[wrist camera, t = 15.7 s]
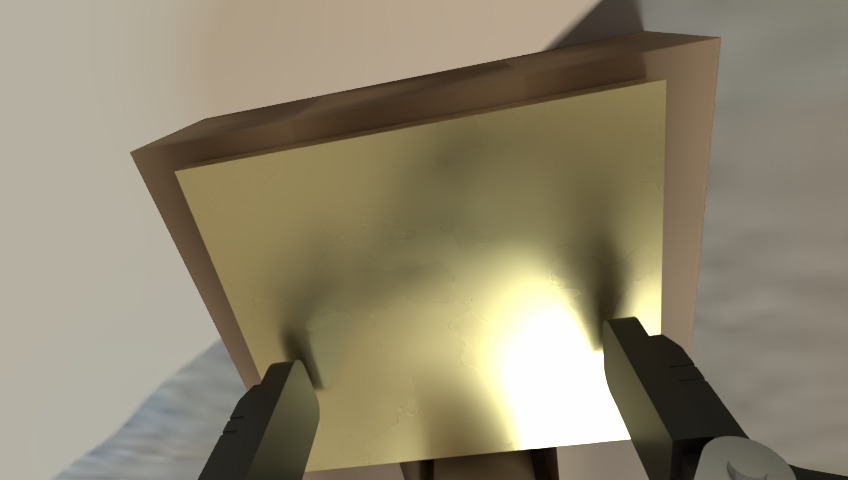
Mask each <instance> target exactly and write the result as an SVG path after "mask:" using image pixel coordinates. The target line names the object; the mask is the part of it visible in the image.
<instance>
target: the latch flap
mask: <svg viewBox="0 0 848 480" xmlns="http://www.w3.org/2000/svg"><path fill="white" fill-rule="evenodd" d="M665 116H666V79H660V78H654V77H647V78H641V79H636V80H631V81H625V82H620V83H615V84H609V85H604V86H599V87H594V88H588V89H583V90H578V91H572V92H567V93H562V94H556V95H551V96H546V97H540V98H535V99H530V100H524V101H519V102H514V103H509V104H503V105H498V106H493V107H487V108H482V109H477V110H471V111H466V112H461V113H455V114H450V115H445V116H439V117H434V118H429V119H424V120H418V121H413V122H408V123H402V124H397V125H392V126H386V127H381V128H376V129H370V130H365V131H360V132H354V133H349V134H344V135H339V136H333V137H328V138H323V139H317V140H312V141H307V142H301V143H296V144H291V145H285V146H280V147H275V148H269V149H264V150H259V151H254V152H248V153H243V154H238V155H232V156H227V157H222V158H216V159H211V160H206V161H200V162H195V163H191V164H189V165H187V166H185V167H183V168H181V169H179V170H176V171H174V172H175V174H176V176H177V179H178V181H179V184H180V186H181V188H182V191H183V193H184V196H185V198H186V200H187V203H188V205H189V208H190V210H191V212H192V215H193V217H194V219H195V222H196V224H197V227H198V229H199V231H200V234H201V236H202V239H203V241H204V243H205V246H206V248H207V251H208V253H209V255H210V258H211V260H212V262H213V265H214V267H215V270H216V272H217V274H218V277H219V279H220V282H221V284H222V286H223V289H224V291H225V294H226V296H227V298H228V301H229V303H230V305H231V308H232V310H233V313H234V315H235V317H236V320H237V322H238V325H239V327H240V329H241V332H242V334H243V337H244V339H245V341H246V344H247V346H248V348H249V351H250V353H251V356H252V358H253V360H254V363H255V365H256V368H257V370H258V372H259V375H260V377H261V380H263V377H264V375H265V373H266V371H267V369H268V367H269V366H270V365H271V364H272V363H278V362H286V361H293V360H300V361H301V362H302V363H303V364H304V367H305V369H306V372H307V374H308V376H309V379H310V381H311V384H312V386H313V389H314V391H315V394H316V396H317V399H318V402H319V408H320V419H319V424H318V428H317V431H316V435H315V438H314V441H313V445H312V448H311V451H310V455H309V458H308V462H307V465H306V468H305V472H309V471H319V470H329V469H339V468H348V467H358V466H368V465H378V464H388V463H397V462H407V461H417V460H427V459H436V458H446V457H456V456H466V455H476V454H485V453H495V452H505V451H515V450H525V449H534V448H544V447H554V446H564V445H573V444H583V443H593V442H603V441H613V440H622V439H631V438H630V436H629V434H628V432H627V429H626V427H625V425H624V423H623V421H622V418H621V416H620V414H619V412H618V409H617V407H616V405H615V403H614V401H613V398H612V396H611V394H610V392H609V389H608V386H607V383H606V379H605V374H604V366H603V322H604V320H610V319H618V318H626V317H633V316H635V317H637V318H638V320H639V321H640V323H641V324H642V326H643V327H644V329H645V330H646V332H647V333H648V335H649V336H652V335H659V334H660V333H661V290H662V246H663V203H664V160H665Z"/></svg>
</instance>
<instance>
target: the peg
mask: <svg viewBox="0 0 848 480" xmlns="http://www.w3.org/2000/svg"><path fill="white" fill-rule="evenodd" d="M434 480H536V478H535V473H534V468H533V463H532V458H531V453H530V449H525V450H515V451H505V452H495V453H485V454H476V455H466V456H456V457H446V458H436V459H434Z"/></svg>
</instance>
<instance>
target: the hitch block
mask: <svg viewBox="0 0 848 480" xmlns="http://www.w3.org/2000/svg"><path fill="white" fill-rule="evenodd" d="M720 44H721V37H710V36H698V35H686V34H674V33H662V32H650V31H643V32H638V33H633V34H628V35H623V36H618V37H613V38H608V39H603V40H598V41H593V42H588V43H583V44H578V45H572V46H567V47H562V48H557V49H552V50H547V51H542V52H537V53H532V54H528V55H522V56H517V57H512V58H507V59H503V60H497V61H492V62H487V63H482V64H477V65H472V66H467V67H462V68H457V69H452V70H447V71H442V72H437V73H432V74H427V75H422V76H417V77H412V78H407V79H402V80H397V81H392V82H387V83H382V84H377V85H372V86H367V87H362V88H357V89H352V90H347V91H342V92H337V93H332V94H327V95H322V96H317V97H312V98H307V99H302V100H297V101H292V102H287V103H282V104H277V105H272V106H267V107H262V108H257V109H252V110H247V111H242V112H237V113H232V114H227V115H222V116H217V117H212V118H207V119H204V120H201V121H199V122H197V123H194V124H192V125H190V126H188V127H185V128H183V129H181V130H179V131H176V132H174V133H172V134H170V135H168V136H166V137H163V138H161V139H159V140H156V141H154V142H152V143H150V144H147V145H145V146H143V147H141V148H139V149H136V150H134V151H132V152H130V153H131V156H132V157H133V159H134V162H135V164H136V166H137V168H138V170H139V172H140V174H141V176H142V178H143V180H144V182H145V184H146V186H147V188H148V190H149V192H150V194H151V196H152V198H153V200H154V202H155V204H156V206H157V208H158V210H159V212H160V214H161V216H162V218H163V220H164V222H165V224H166V226H167V228H168V230H169V232H170V234H171V237H172V239H173V241H174V242H175V245H176V247H177V249H178V250H179V253H180V255H181V257H182V259H183V261H184V263H185V265H186V267H187V269H188V271H189V273H190V275H191V277H192V279H193V281H194V283H195V285H196V287H197V289H198V291H199V293H200V295H201V297H202V299H203V301H204V303H205V305H206V307H207V309H208V311H209V313H210V315H211V317H212V319H213V322H214V323H215V325H216V328H217V330H218V332H219V334H220V336H221V338H222V340H223V342H224V344H225V346H226V348H227V350H228V352H229V354H230V356H231V358H232V360H233V362H234V364H235V366H236V368H237V370H238V372H239V374H240V376H241V378H242V380H243V382H244V384H245V386H246V388H247V390H248V391H249V390H250V389H251V387H252V386H253V385H258V384H261V382H262V380H261V377H260V375H259V372H258V370H257V368H256V365H255V363H254V360H253V358H252V356H251V353H250V351H249V348H248V346H247V344H246V341H245V339H244V337H243V334H242V332H241V329H240V327H239V325H238V322H237V320H236V317H235V315H234V313H233V310H232V308H231V305H230V303H229V301H228V298H227V296H226V294H225V291H224V289H223V286H222V284H221V282H220V279H219V277H218V274H217V272H216V270H215V267H214V265H213V262H212V260H211V258H210V255H209V253H208V251H207V248H206V246H205V243H204V241H203V239H202V236H201V234H200V231H199V229H198V227H197V224H196V222H195V219H194V217H193V215H192V212H191V210H190V208H189V205H188V203H187V200H186V198H185V196H184V193H183V191H182V188H181V186H180V184H179V181H178V179H177V176H176V174H175V172H174V171H176V170H179V169H181V168H183V167H185V166H187V165H189V164H191V163H195V162H200V161H206V160H211V159H216V158H222V157H227V156H232V155H238V154H243V153H248V152H254V151H259V150H264V149H269V148H275V147H280V146H285V145H291V144H296V143H301V142H307V141H312V140H317V139H323V138H328V137H333V136H339V135H344V134H349V133H354V132H360V131H365V130H370V129H376V128H381V127H386V126H392V125H397V124H402V123H408V122H413V121H418V120H424V119H429V118H434V117H439V116H445V115H450V114H455V113H461V112H466V111H471V110H477V109H482V108H487V107H493V106H498V105H503V104H509V103H514V102H519V101H524V100H530V99H535V98H540V97H546V96H551V95H556V94H562V93H567V92H572V91H578V90H583V89H588V88H594V87H599V86H604V85H609V84H615V83H620V82H625V81H631V80H636V79H641V78H647V77H654V78H660V79H666V116H665V160H664V203H663V246H662V290H661V333H660V334H663V335H665V336H666V337H668V338H669V339H671V340H672V341H674V342H675V343H677V344H678V345H680V346H681V347H682V348H683V349H684V350H685V352H686V353H687V355H688V356H689V357H691V346H692V336H693V325H694V315H695V305H696V294H697V284H698V273H699V263H700V252H701V242H702V232H703V221H704V211H705V200H706V190H707V179H708V169H709V158H710V148H711V138H712V127H713V117H714V106H715V96H716V85H717V75H718V65H719V54H720ZM530 453H531V458H532V463H533V468H534V473H535V478H536V480H649V478H648V476H647V474H646V472H645V469H644V467H643V465H642V463H641V460H640V458H639V456H638V454H637V452H636V449H635V447H634V445H633V443H632V440H631V439H622V440H613V441H603V442H593V443H583V444H573V445H564V446H554V447H544V448H543V451H539V452H530ZM302 480H434V462H430V463H429V461H428V459H427V460H417V461H407V462H397V463H388V464H378V465H368V466H358V467H348V468H339V469H329V470H319V471H309V472H304V475H303V478H302Z"/></svg>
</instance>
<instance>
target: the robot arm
mask: <svg viewBox="0 0 848 480" xmlns="http://www.w3.org/2000/svg"><path fill="white" fill-rule="evenodd" d="M603 366H604V374H605V379H606V383H607V386H608V389H609V392H610V394H611V396H612V398H613V401H614V403H615V405H616V407H617V409H618V412H619V414H620V416H621V418H622V421H623V423H624V425H625V427H626V429H627V432H628V434H629V436H630V438H631V440H632V443H633V445H634V447H635V449H636V452H637V454H638V456H639V458H640V460H641V463H642V465H643V467H644V469H645V472H646V474H647V476H648V478H649V480H848V476H842V475H836V474H831V473H825V472H819V471H813V470H808V469H803V468H799V467H796V466H793V465H789V464H787V463H786V462H785V460H784V459H783V458H782V457H780V456H779V455H778V454H777V453H776V452H774V451H773V450H771V449H770V448H768V447H766V446H764V445H762V444H761V443H758V442H756V441H753V440H750V439H749V438H748V436H747V435H746V434H745V433H744V431H743V430H742V429H741V427H740V426H739V424H738V423H737V422H736V420H735V419H734V418H733V416H732V415H731V414H730V412H729V411H728V409H727V408H726V407H725V405H724V404H723V403H722V401H721V400H720V398H719V397H718V396H717V394H716V393H715V392H714V390H713V389H712V387H711V386H710V385H709V383H708V382H707V381H705V379H704V377H703V375H702V374H701V372H700V371H699V370H698V368H697V367H695V366H694V363H693V361H692V360H691V359H690V357H689V356H688V355H687V353H686V352H685V350H684V349H683V348H682V347H681V346H680V345H678V344H677V343H675V342H674V341H672V340H671V339H669V338H668V337H666V336H665V335H663V334H659V335H652V336H649V335H648V333H647V332H646V330H645V329H644V327H643V326H642V324H641V323H640V321H639V320H638V318H637V317H635V316H633V317H626V318H618V319H610V320H604V322H603ZM319 419H320V408H319V402H318V399H317V396H316V394H315V391H314V389H313V386H312V384H311V381H310V379H309V376H308V374H307V372H306V369H305V367H304V364H303V363H302V362H301V361H300V360H293V361H286V362H278V363H272V364H271V365H270V366H269V367H268V369H267V371H266V373H265V375H264V377H263V380H262V382H261V384H258V385H253V386H252V387H251V389H250V390H249V391H248V392H247V393H246V394H245V395H244V396H243V397H242V398H241V399H240V400H239V402H238V403H237V405H236V407H235V409H234V411H233V413H232V415H231V417H230V421H228V423H227V425H226V426H225V428H224V430H223V435H221V436H220V438H219V440H218V442H217V444H216V446H215V448H214V449H213V451H212V453H211V455H210V457H209V459H208V461H207V463H206V465H205V467H204V469H203V471H202V472H201V474H200V476H199V478H198V480H302V478H303V475H304V472H305V468H306V465H307V462H308V458H309V455H310V451H311V448H312V445H313V441H314V438H315V435H316V431H317V428H318V424H319Z"/></svg>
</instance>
